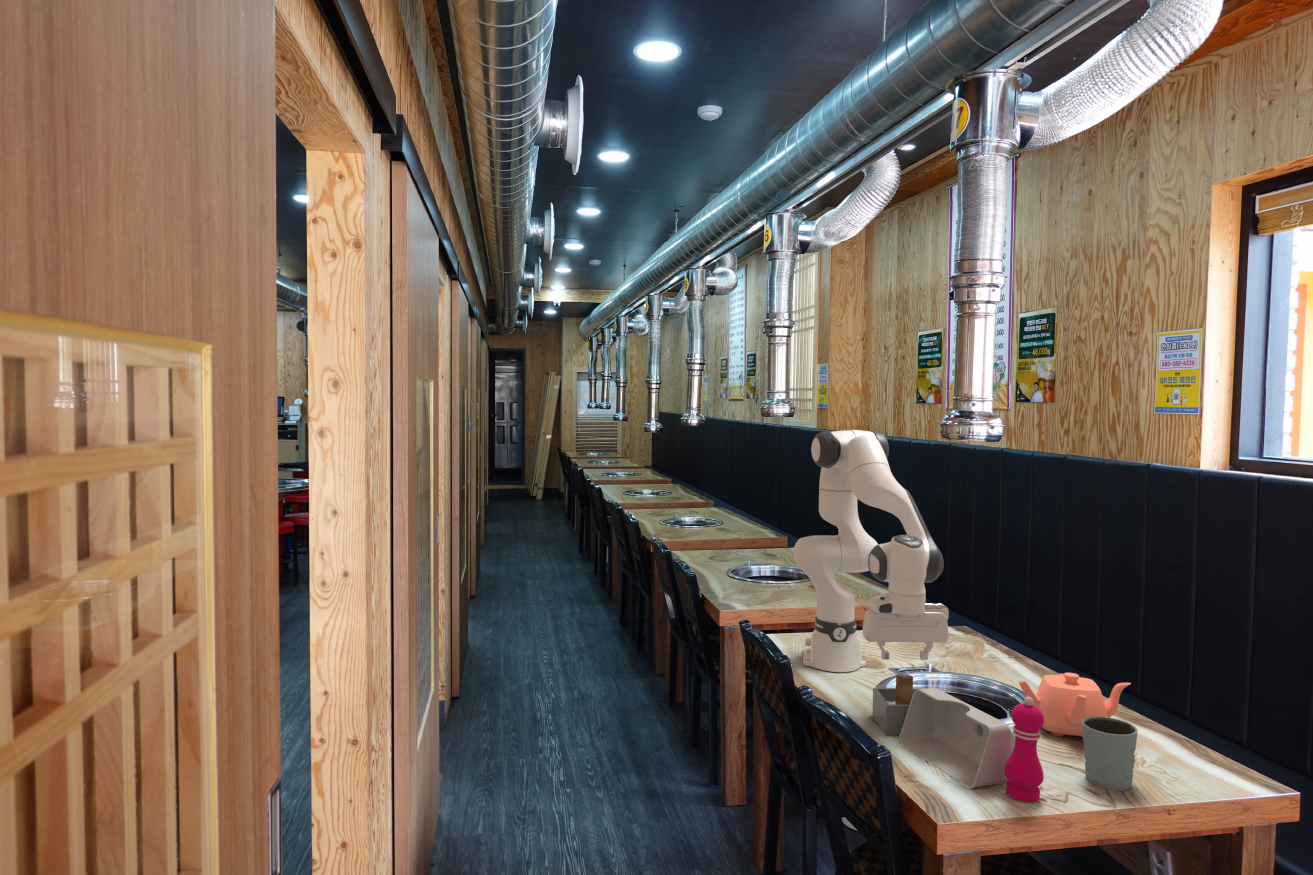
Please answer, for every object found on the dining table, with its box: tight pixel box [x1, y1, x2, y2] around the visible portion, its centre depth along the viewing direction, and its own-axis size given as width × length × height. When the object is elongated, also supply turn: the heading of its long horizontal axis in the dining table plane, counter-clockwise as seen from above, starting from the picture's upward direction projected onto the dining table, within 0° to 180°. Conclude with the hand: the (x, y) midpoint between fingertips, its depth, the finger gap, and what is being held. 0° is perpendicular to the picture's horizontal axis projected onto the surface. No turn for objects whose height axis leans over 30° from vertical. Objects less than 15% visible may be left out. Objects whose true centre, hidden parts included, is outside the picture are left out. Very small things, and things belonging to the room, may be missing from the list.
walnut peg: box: [895, 673, 914, 705], centre depth 201 cm, size 4×4×12 cm
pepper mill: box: [1004, 696, 1045, 803], centre depth 165 cm, size 7×7×20 cm
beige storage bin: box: [898, 687, 1015, 790], centre depth 182 cm, size 25×16×12 cm, turn 20°
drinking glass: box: [1082, 716, 1138, 792], centre depth 172 cm, size 10×10×12 cm
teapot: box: [1018, 672, 1132, 739], centre depth 198 cm, size 18×18×14 cm
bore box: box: [871, 687, 922, 736], centre depth 201 cm, size 12×12×7 cm
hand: (904, 658), depth 201 cm, fingers open, 8 cm apart
